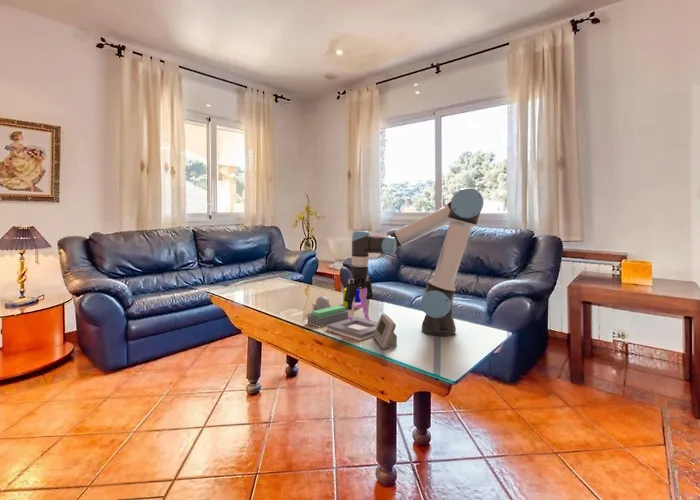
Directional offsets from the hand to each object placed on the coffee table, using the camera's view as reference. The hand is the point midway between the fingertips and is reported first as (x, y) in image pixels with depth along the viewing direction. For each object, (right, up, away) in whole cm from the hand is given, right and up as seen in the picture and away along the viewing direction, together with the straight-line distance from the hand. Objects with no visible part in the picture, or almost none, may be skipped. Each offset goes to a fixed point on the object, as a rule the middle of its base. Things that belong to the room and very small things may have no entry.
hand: (358, 314), depth 168 cm
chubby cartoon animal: (-20, -4, +31) cm, 37 cm away
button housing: (-14, -6, +15) cm, 21 cm away
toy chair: (0, -3, +1) cm, 3 cm away
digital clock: (+10, -9, -16) cm, 21 cm away
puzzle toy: (-2, -3, +49) cm, 49 cm away
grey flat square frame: (0, -7, +1) cm, 7 cm away
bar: (-14, -3, +15) cm, 20 cm away
